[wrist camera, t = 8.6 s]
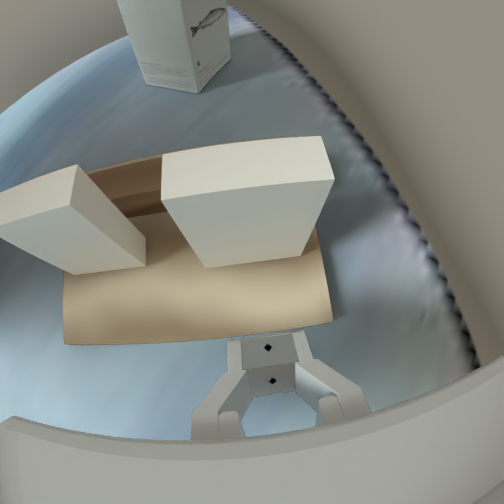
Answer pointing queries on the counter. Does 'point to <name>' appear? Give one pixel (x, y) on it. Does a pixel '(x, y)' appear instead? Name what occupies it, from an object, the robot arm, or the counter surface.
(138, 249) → the block
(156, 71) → the supplement box
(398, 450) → the robot arm
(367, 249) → the counter surface
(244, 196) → the white rectangular block
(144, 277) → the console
